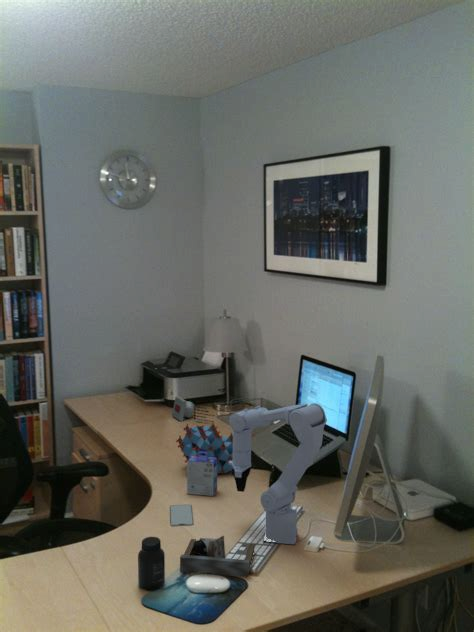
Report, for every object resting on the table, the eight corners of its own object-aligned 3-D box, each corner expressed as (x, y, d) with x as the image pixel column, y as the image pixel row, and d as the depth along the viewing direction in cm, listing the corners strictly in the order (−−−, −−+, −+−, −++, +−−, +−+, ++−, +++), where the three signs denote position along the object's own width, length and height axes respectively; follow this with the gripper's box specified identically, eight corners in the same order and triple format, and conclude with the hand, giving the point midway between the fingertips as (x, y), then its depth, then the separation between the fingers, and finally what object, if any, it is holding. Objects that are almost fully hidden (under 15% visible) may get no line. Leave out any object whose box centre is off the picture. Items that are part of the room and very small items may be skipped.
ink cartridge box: (217, 490, 228) (218, 451, 226) (214, 496, 223) (214, 456, 221) (190, 488, 230) (190, 449, 228) (186, 494, 225) (186, 454, 223)
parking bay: (254, 552, 185) (254, 538, 184) (248, 577, 172) (248, 562, 171) (191, 547, 187) (191, 534, 187) (180, 571, 174) (180, 557, 174)
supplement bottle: (165, 577, 171) (165, 534, 170) (163, 591, 164) (163, 547, 163) (140, 577, 171) (139, 534, 169) (136, 591, 164) (136, 547, 163)
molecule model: (245, 440, 256) (192, 410, 250) (253, 452, 242) (196, 421, 236) (223, 475, 256) (170, 446, 250) (230, 489, 242) (173, 459, 236)
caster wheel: (202, 554, 189) (233, 555, 185) (184, 564, 178) (217, 566, 174) (200, 530, 189) (232, 531, 186) (183, 539, 179) (215, 540, 175)
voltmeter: (165, 419, 312) (165, 399, 311) (178, 413, 322) (178, 394, 321) (213, 427, 300) (213, 406, 299) (225, 421, 310) (225, 401, 309)
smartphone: (191, 504, 216) (193, 524, 201) (191, 506, 216) (193, 526, 201) (169, 505, 215) (170, 525, 200) (169, 507, 215) (170, 527, 200)
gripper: (232, 440, 208) (232, 480, 210) (225, 456, 194) (224, 499, 196) (254, 441, 207) (253, 482, 209) (248, 458, 193) (247, 501, 195)
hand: (240, 490), depth 202 cm, fingers closed
